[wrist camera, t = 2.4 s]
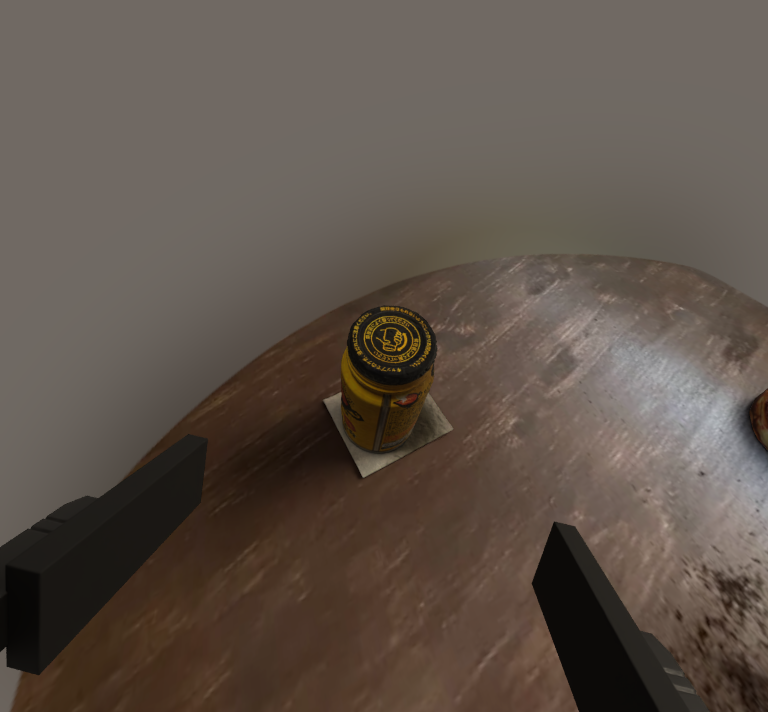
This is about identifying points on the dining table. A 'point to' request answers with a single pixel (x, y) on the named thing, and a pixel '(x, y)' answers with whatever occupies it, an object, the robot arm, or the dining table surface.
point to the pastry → (760, 418)
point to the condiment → (387, 388)
